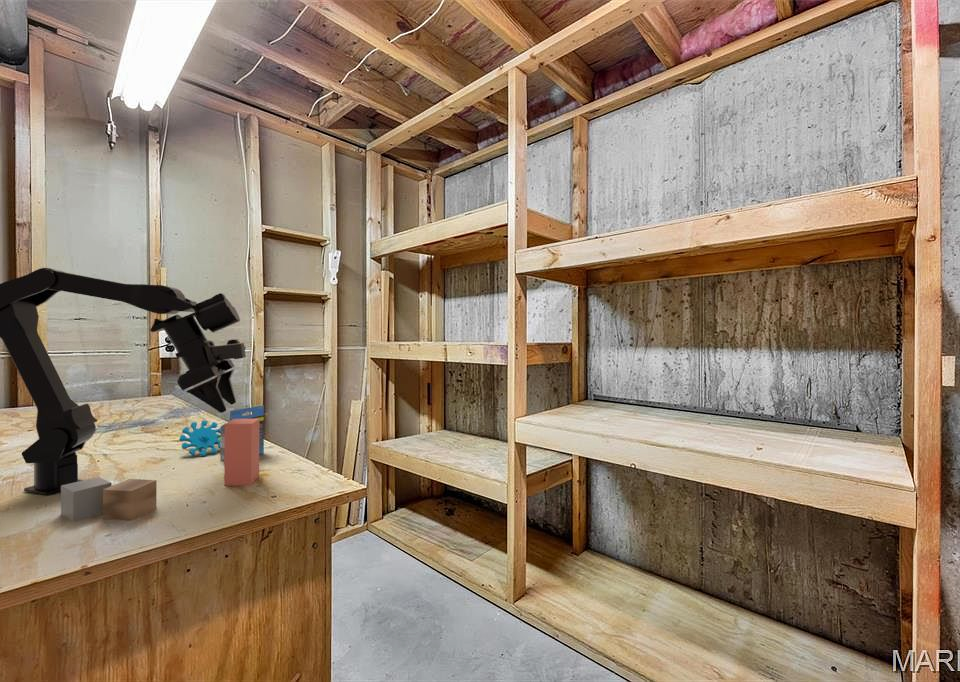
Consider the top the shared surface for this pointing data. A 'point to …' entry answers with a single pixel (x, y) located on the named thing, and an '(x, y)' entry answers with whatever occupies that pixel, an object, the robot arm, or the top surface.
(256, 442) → the red block
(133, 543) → the top surface
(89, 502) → the gray cube
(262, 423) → the label tape cartridge
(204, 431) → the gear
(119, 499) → the walnut cube
